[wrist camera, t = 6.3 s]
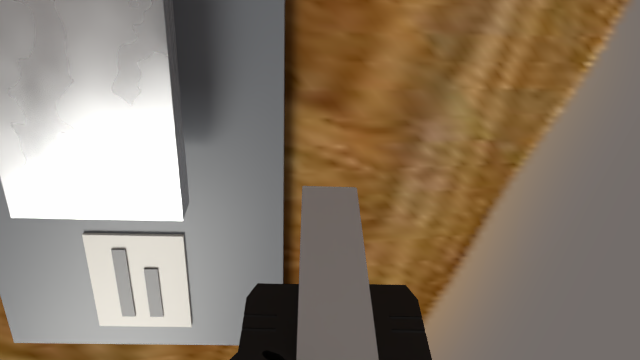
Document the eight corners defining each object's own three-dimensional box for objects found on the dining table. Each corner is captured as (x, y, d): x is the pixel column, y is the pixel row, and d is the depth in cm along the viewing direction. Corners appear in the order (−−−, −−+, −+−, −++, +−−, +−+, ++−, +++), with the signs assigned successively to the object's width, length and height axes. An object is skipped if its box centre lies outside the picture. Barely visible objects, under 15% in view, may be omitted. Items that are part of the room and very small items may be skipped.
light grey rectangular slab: (198, 176, 27) (182, 223, 24) (47, 173, 27) (9, 219, 24) (173, -156, 21) (147, -160, 17) (-25, -164, 21) (-93, -169, 17)
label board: (283, 330, 34) (282, 349, 33) (23, 327, 34) (12, 346, 32) (286, -163, 22) (285, -165, 21) (-118, -180, 22) (-145, -183, 20)
